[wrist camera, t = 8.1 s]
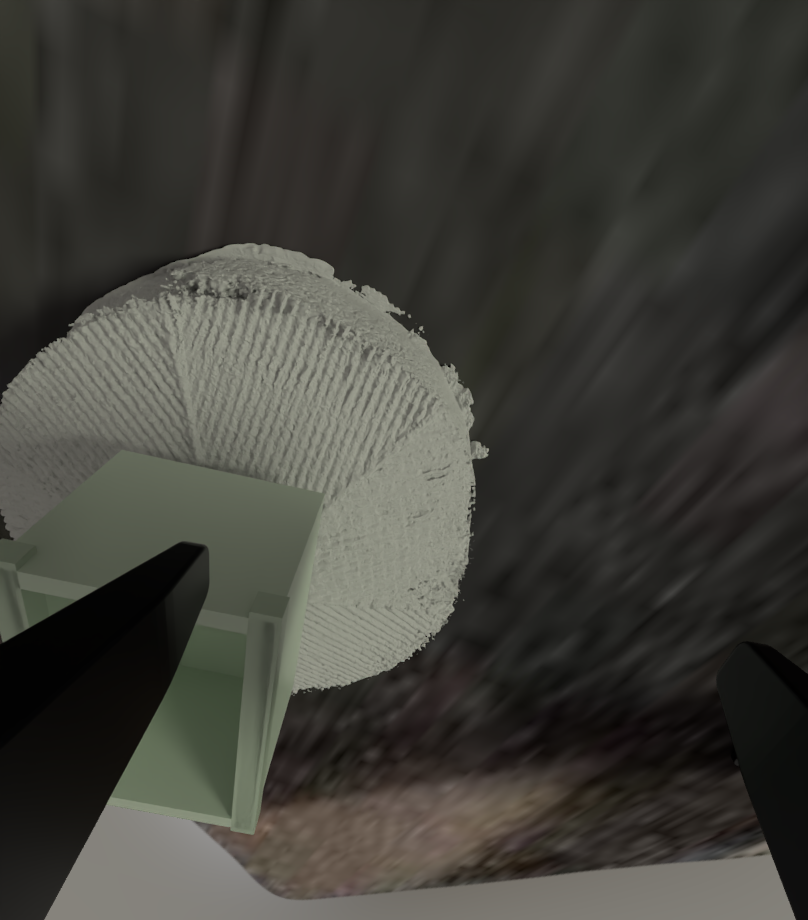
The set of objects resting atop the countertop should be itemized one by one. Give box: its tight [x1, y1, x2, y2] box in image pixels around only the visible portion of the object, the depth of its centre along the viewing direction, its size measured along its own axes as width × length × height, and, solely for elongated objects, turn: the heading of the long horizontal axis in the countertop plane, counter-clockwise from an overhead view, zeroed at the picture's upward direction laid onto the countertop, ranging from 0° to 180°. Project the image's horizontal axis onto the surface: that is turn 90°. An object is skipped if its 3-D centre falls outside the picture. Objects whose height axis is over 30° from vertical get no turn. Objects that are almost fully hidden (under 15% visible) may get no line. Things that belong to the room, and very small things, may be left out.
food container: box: [0, 243, 489, 696], centre depth 20 cm, size 20×20×7 cm
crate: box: [0, 450, 325, 835], centre depth 15 cm, size 9×6×5 cm, turn 168°
